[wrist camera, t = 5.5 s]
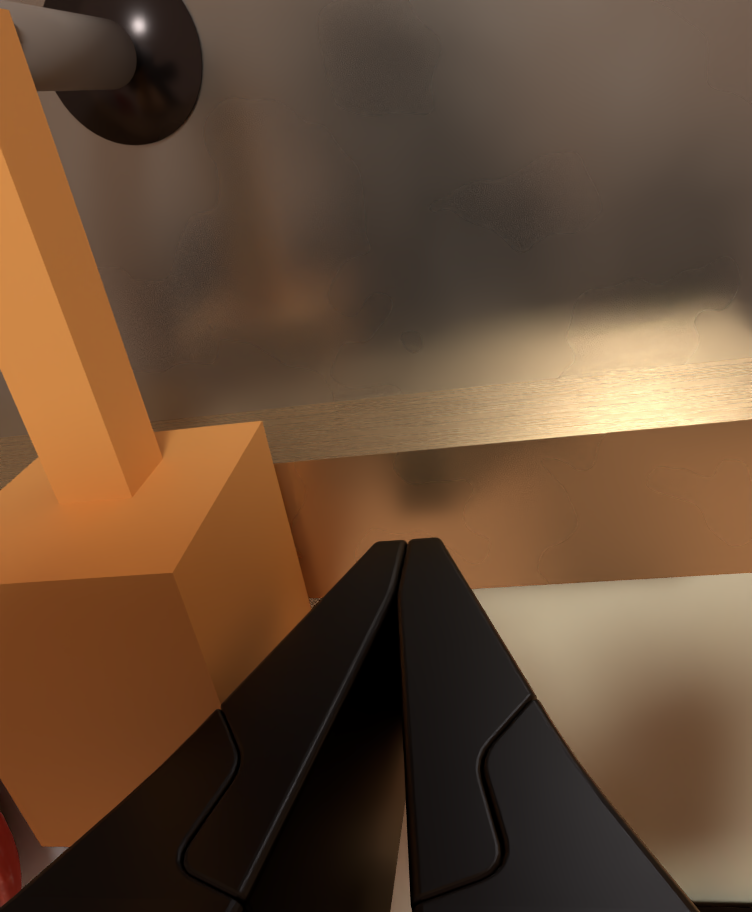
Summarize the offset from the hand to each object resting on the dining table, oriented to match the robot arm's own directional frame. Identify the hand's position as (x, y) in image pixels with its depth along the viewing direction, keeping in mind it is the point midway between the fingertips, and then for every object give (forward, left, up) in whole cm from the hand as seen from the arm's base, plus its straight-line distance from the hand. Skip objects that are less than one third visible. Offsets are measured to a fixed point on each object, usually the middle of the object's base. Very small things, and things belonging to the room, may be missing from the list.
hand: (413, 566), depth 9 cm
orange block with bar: (+2, +3, -3) cm, 5 cm away
